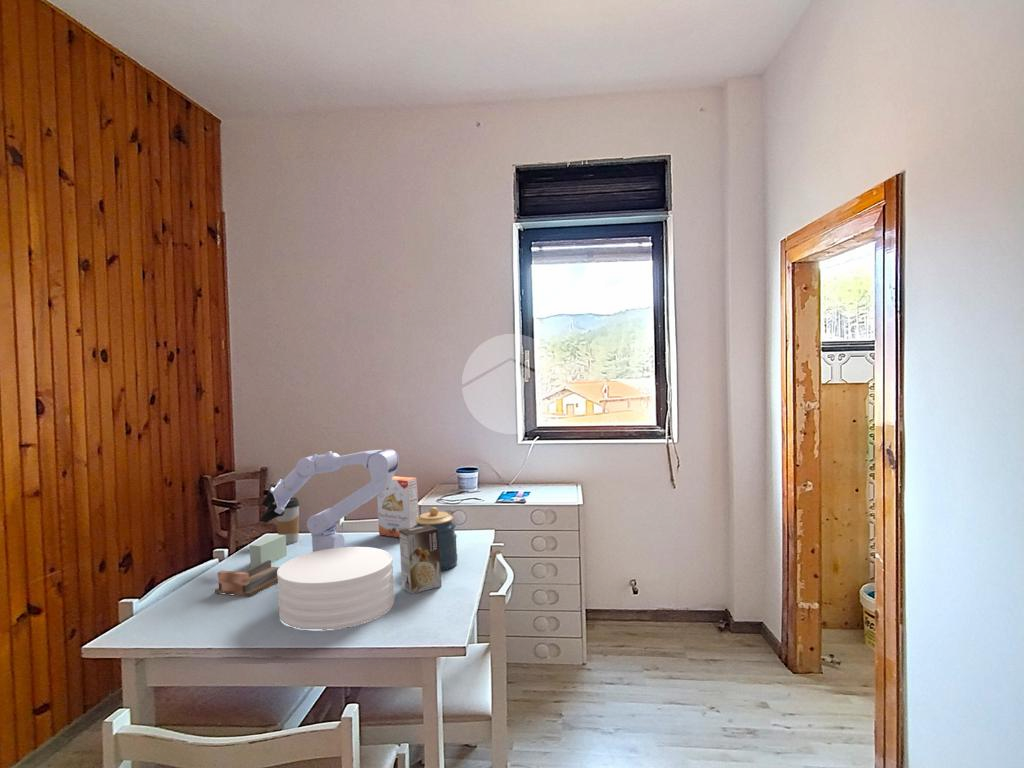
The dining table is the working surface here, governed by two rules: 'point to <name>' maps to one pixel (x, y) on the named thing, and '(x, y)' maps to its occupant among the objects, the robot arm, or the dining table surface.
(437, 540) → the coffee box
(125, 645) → the dining table surface
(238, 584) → the track
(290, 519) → the coffee cup
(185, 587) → the dining table surface
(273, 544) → the pale green block
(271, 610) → the dining table surface
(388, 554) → the plate stack
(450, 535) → the canister
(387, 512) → the cracker box
